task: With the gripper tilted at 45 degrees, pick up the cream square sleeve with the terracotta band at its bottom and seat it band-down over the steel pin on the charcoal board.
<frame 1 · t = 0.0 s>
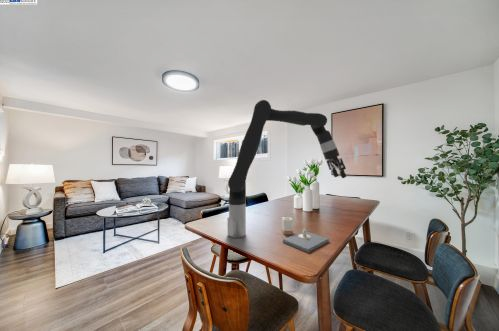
hand: (340, 177, 99), 31 cm above the table, fingers open, 8 cm apart
sleeve: (287, 232, 102), on the table
pin board: (305, 241, 89), on the table
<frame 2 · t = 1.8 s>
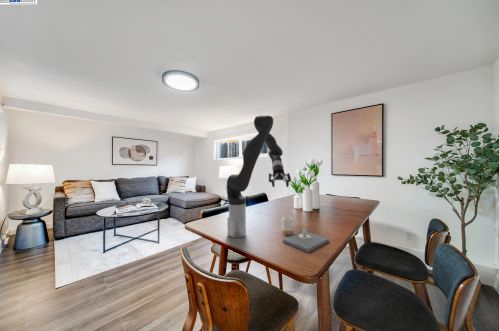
hand: (280, 186, 115), 25 cm above the table, fingers open, 8 cm apart
nothing on the table moved.
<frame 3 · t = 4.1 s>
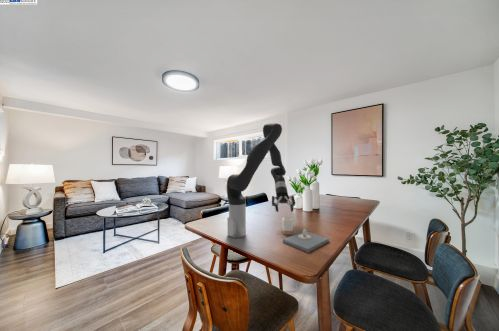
hand: (284, 211, 108), 11 cm above the table, fingers open, 8 cm apart
nothing on the table moved.
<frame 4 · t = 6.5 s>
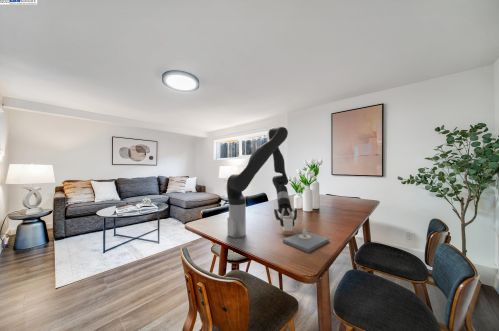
hand: (287, 226, 100), 4 cm above the table, fingers closed on sleeve, 5 cm apart
sleeve: (287, 232, 102), on the table, touching gripper
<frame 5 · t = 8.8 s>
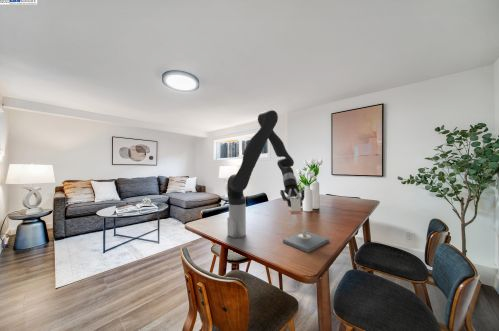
hand: (295, 206, 96), 16 cm above the table, fingers closed on sleeve, 5 cm apart
sleeve: (294, 213, 98), point 12 cm above the table, touching gripper
when the fingers open (7 cm above the table, at t = 11.4 s): sleeve drops 1 cm, resting on pin board.
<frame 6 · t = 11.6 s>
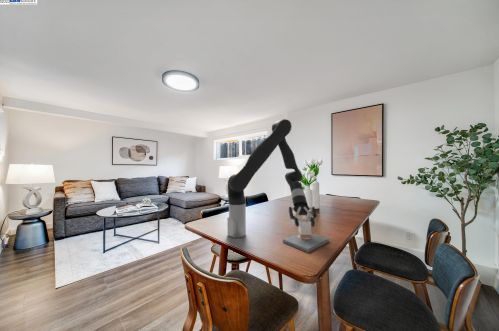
hand: (305, 226, 90), 7 cm above the table, fingers open, 7 cm apart
sleeve: (304, 236, 92), point 2 cm above the table, touching pin board
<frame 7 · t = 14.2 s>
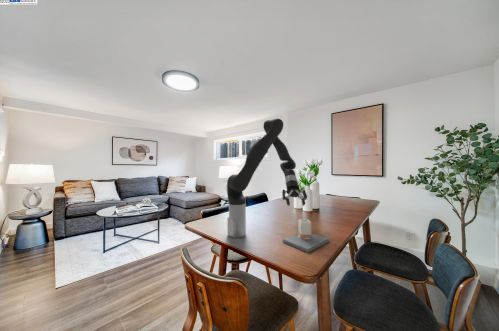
hand: (296, 205, 104), 15 cm above the table, fingers open, 8 cm apart
nothing on the table moved.
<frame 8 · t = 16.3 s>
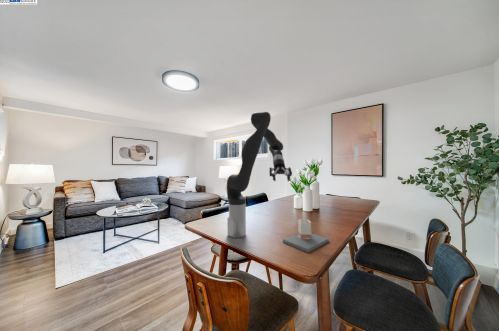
hand: (281, 180, 113), 29 cm above the table, fingers open, 8 cm apart
nothing on the table moved.
at the end: sleeve 0.1 cm from the target spot on the pin board, point 1.6 cm above the pin board's base; sleeve tilted 0°; the gripper is holding nothing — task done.
